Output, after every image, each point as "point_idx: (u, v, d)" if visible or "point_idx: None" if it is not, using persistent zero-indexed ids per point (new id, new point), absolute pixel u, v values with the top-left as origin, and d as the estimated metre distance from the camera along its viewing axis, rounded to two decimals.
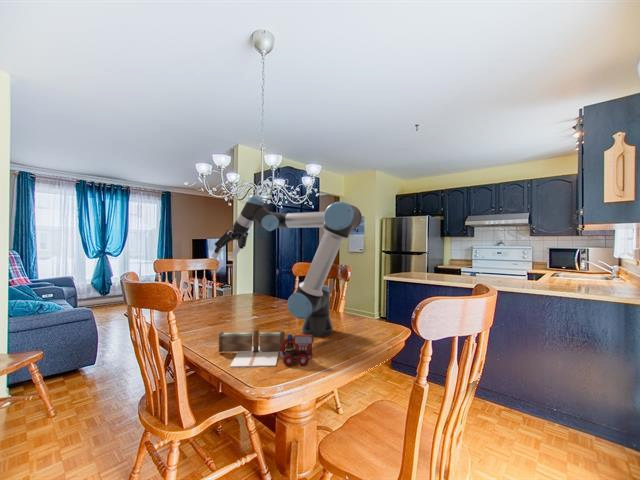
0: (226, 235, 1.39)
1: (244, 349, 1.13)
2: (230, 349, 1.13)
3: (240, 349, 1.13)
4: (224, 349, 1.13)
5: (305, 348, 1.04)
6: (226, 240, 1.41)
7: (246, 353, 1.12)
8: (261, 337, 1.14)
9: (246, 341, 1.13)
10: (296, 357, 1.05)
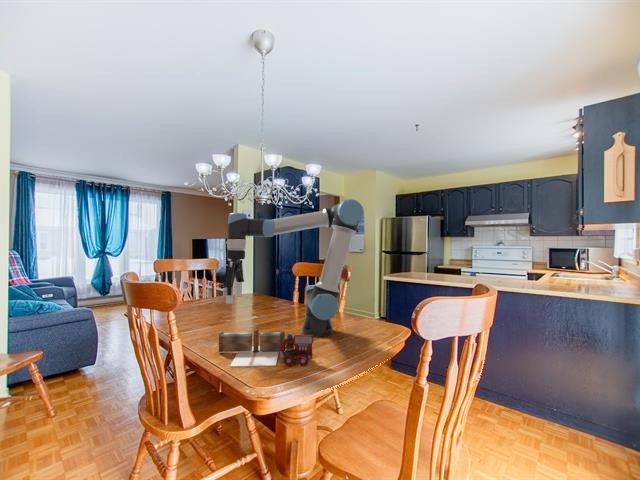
0: (231, 268, 1.14)
1: (244, 349, 1.13)
2: (230, 349, 1.13)
3: (240, 349, 1.13)
4: (224, 349, 1.13)
5: (305, 348, 1.04)
6: None
7: (246, 353, 1.12)
8: (261, 337, 1.14)
9: (246, 341, 1.13)
10: (296, 357, 1.05)
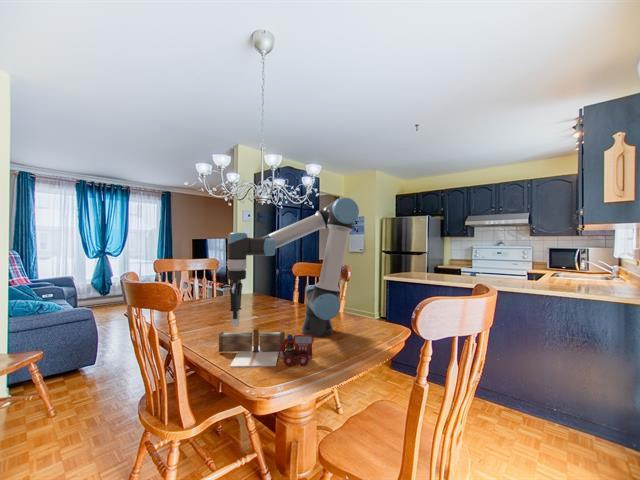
0: (233, 294, 1.15)
1: (244, 349, 1.13)
2: (230, 349, 1.13)
3: (240, 349, 1.13)
4: (224, 349, 1.13)
5: (305, 348, 1.04)
6: None
7: (246, 353, 1.12)
8: (261, 337, 1.14)
9: (246, 341, 1.13)
10: (296, 357, 1.05)
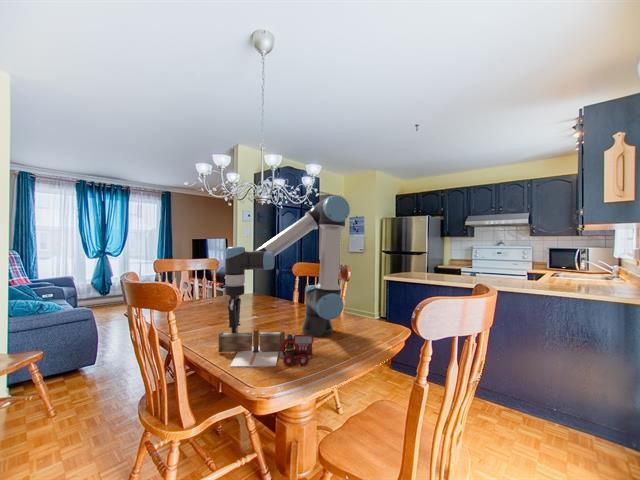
0: (232, 311, 1.11)
1: (244, 349, 1.13)
2: (230, 349, 1.13)
3: (240, 349, 1.13)
4: (224, 349, 1.13)
5: (305, 348, 1.04)
6: None
7: (246, 353, 1.12)
8: (261, 337, 1.14)
9: (246, 341, 1.13)
10: (296, 357, 1.05)
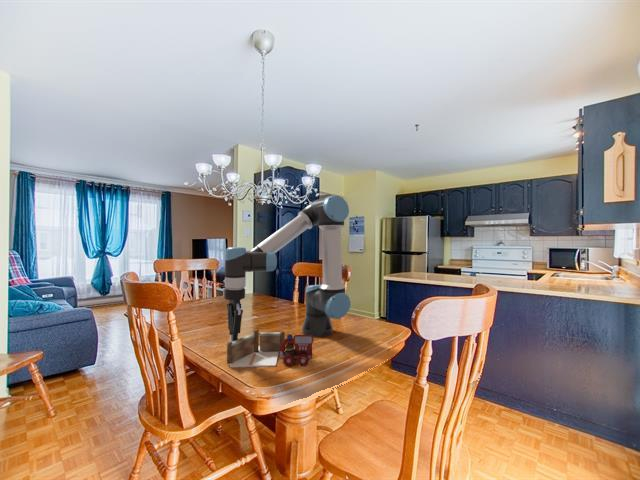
0: (238, 316, 1.04)
1: (249, 352, 1.10)
2: (238, 357, 1.06)
3: (246, 353, 1.09)
4: (234, 359, 1.04)
5: (305, 348, 1.04)
6: None
7: None
8: (261, 337, 1.14)
9: (250, 343, 1.11)
10: (296, 357, 1.05)
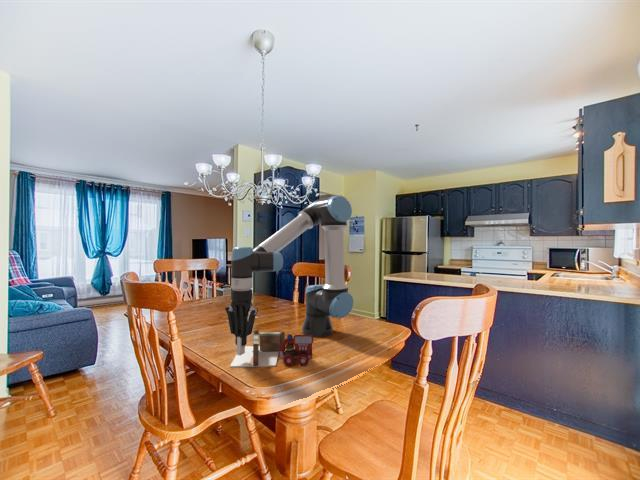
0: (253, 316, 1.03)
1: None
2: None
3: None
4: None
5: (305, 348, 1.04)
6: (246, 322, 1.04)
7: (246, 353, 1.12)
8: (261, 337, 1.14)
9: None
10: (296, 357, 1.05)
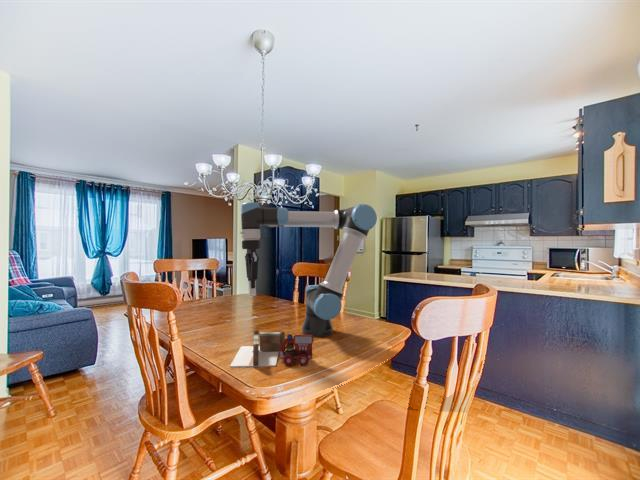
0: (255, 263, 1.16)
1: None
2: None
3: None
4: None
5: (305, 348, 1.04)
6: None
7: (246, 353, 1.12)
8: (261, 337, 1.14)
9: None
10: (296, 357, 1.05)
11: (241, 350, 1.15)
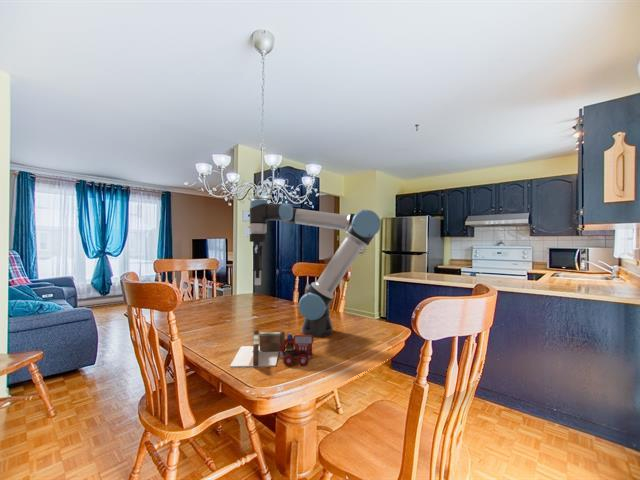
0: (256, 254, 1.26)
1: None
2: None
3: None
4: None
5: (305, 348, 1.04)
6: None
7: (246, 353, 1.12)
8: (261, 337, 1.14)
9: None
10: (296, 357, 1.05)
11: (241, 350, 1.15)
